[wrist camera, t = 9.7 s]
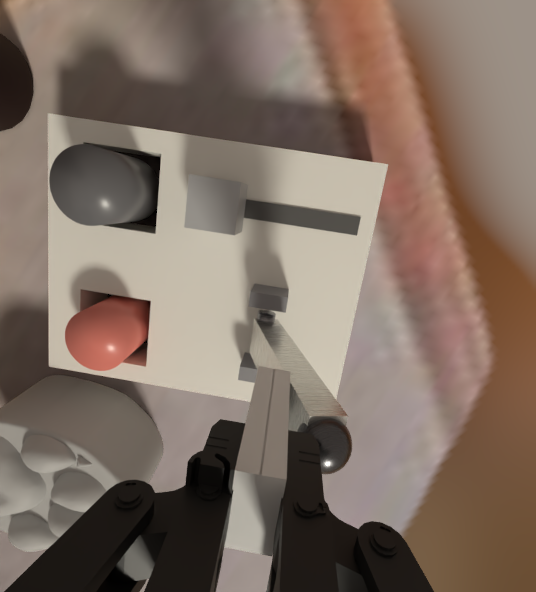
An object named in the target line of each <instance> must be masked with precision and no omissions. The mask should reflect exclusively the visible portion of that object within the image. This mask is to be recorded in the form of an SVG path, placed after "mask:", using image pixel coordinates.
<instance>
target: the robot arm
mask: <svg viewBox="0 0 536 592" xmlns="http://www.w3.org/2000/svg"><path fill="white" fill-rule="evenodd" d="M289 395H290V371H285V370H279V369H273V368H267V367H261V366H259V367H258V371H257V375H256V380H255V384H254V389H253V393H252V397H251V402H250V406H249V410H248V415H247V419H246V423H239V422H233V421H227V420H222V419H220V420H219V421H218V422H217V423H216V424H215V425H213V426H212V428H211V431H210V434H209V436H208V439H207V442H206V445H205V447H204V450H203V451H200V452H198V453H196V454H195V455H193V456H192V457H191V458H190V460H189V461H188V466H187V476H186V485H185V486H184V487H182V488H180V489H177V490H175V491H170V492H162V493H155V492H154V490H153V488H152V486H151V485H149V484H148V483H146V482H145V481H140V480H126V481H123V482H120V483H117V484H115V485H114V486H113V487H111V488H110V489H109V490H107V491H106V492H105V493H104V494H103V495H102V496H101V497H100V498H99V499H98V500H97V501H96V502H95V503H94V504H93V505H92V506H91V507H90V508H89V509H88V510H87V511H86V512H85V513H84V514H83V515H82V516H81V517H80V518H79V519H78V520H77V521H76V522H75V523H74V524H73V525H72V526H71V527H70V528H69V529H68V530H67V531H66V532H65V533H64V534H63V535H62V536H61V537H60V538H58V539H57V540H56V541H55V542H54V543H53V544H52V545H51V546H50V547H49V548H48V549H47V550H46V551H45V552H44V553H43V554H42V555H41V556H40V557H39V558H38V559H37V560H36V561H35V562H34V563H33V564H32V565H31V566H30V567H29V568H28V569H27V570H26V571H25V572H24V573H23V574H22V575H21V576H20V577H19V578H18V579H17V580H16V581H15V582H14V583H13V584H12V585H11V586H10V587H8V588H7V589H6V590H5V591H4V592H139V591H140V590H141V588H142V587H143V585H144V584H145V582H146V579H149V581H148V584H147V586H146V589H145V591H144V592H216V588H217V583H218V578H219V573H220V569H221V563H222V556H223V550H224V547H225V548H230V549H236V550H241V551H246V552H252V553H257V554H262V555H268V556H272V553H273V559H272V565H271V570H270V576H269V581H268V586H267V591H266V592H434V591H433V589H432V587H431V586H430V584H429V582H428V580H427V578H426V577H425V575H424V573H423V571H422V570H421V568H420V566H419V564H418V563H417V561H416V559H415V557H414V556H413V554H412V552H411V550H410V548H409V547H408V545H407V543H406V542H405V540H404V539H403V538H402V536H401V535H400V534H399V533H398V532H397V531H395V530H394V529H393V528H392V527H390V526H388V525H385V524H383V523H380V522H373V521H372V522H367V523H364V524H363V525H362V526H361V527H360V528H359V529H357V528H355V527H353V526H351V525H348V524H346V523H344V522H343V521H341V520H339V519H338V518H337V517H336V516H334V515H333V514H332V513H331V511H330V510H329V507H328V504H327V503H326V502H325V500H324V494H323V483H322V472H321V465H320V464H321V462H320V451H319V444H318V442H317V441H316V439H315V437H314V436H313V434H308V433H302V432H296V431H291V430H288V424H289Z"/></svg>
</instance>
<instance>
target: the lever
mask: <svg viewBox="0 0 536 592" xmlns="http://www.w3.org/2000/svg"><path fill="white" fill-rule="evenodd" d="M275 316H276V314H275V313H274V312H272V311H268V310H259V311H258V314H257V318H254V323H253V330H252V337H251V343H250V350H249V352H250V354H251V357H252V359H253V361H254V364H255V366H256V368H257V371H258V367H259V366H261V367H267V368H273V369H279V370H285V371H290V395H289V424H288V430H291V431H296V432H302V433H308V434H313V436H314V437H315V439H316V441H317V442H318V444H319V451H320V462H321V464H320V465H321V472H322V474H332V473H335V472H337V471H339V470H340V469H342V468H343V467H344V466H345V465H346V463H347V462H348V460H349V458H350V456H351V452H352V439H351V435H350V433H349V431H348V429H347V427H346V423H347V419H348V415H347V414H346V413H345V411H344V410H343V408H342V407H341V406H340V404H339V403H338V402H337V400H336V399H335V397H334V396H333V395H332V393H331V392H330V391H329V389H328V388H327V387H326V385H325V384H324V382H323V381H322V380H321V378H320V377H319V376H318V374H317V373H316V371H315V370H314V369H313V367H312V366H311V365H310V363H309V362H308V361H307V359H306V358H305V356H304V355H303V354H302V352H301V351H300V350H299V348H298V347H297V345H296V344H295V343H294V341H293V340H292V339H291V337H290V336H289V335H288V333H287V332H286V330H285V329H284V328H283V326H282V325H281V324H280V322H279V321H278V319H275Z"/></svg>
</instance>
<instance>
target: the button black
mask: <svg viewBox="0 0 536 592" xmlns="http://www.w3.org/2000/svg"><path fill="white" fill-rule="evenodd" d="M49 183H50V190H51V194H52V197H53V199H54V201H55V203H56V205H57V206H58V208H59V209H60V210H61V211H62V212H63V214H65V215H66V216H67V217H68V218H70V219H71V220H73V221H74V222H76V223H79V224H82V225H86V226H98V225H107V224H116V223H126V222H135V221H141V220H143V219H145V218H147V217H149V216H150V215H151V214H152V213H153V212H154V211H155V210H156V208H157V206H158V192H159V180H158V178H157V176H156V174H155V172H154V171H153V169H152V168H151V167H150V166H149V165H148V164H146V163H145V162H144V161H142V160H140V159H137V158H134V157H131V156H127V155H124V154H120V153H117V152H113V151H110V150H106V149H103V148H99V147H96V146H92V145H88V144H78V145H73V146H71V147H68V148H66V149H65V150H63V151H62V152H61V153H60V154H59V155H58V156H57V157H56V159H55V160H54V162H53V164H52V167H51V170H50V177H49Z"/></svg>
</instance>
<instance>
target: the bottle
mask: <svg viewBox="0 0 536 592" xmlns="http://www.w3.org/2000/svg"><path fill="white" fill-rule="evenodd" d="M32 97H33V84H32V77H31V74H30V70H29V67H28V64H27V62H26V61H25V59H24V57H23V56H22V54H21V53H20V51H19V50H18V48H17V47H16V46H14V45H13V44H12V43H11V42H10V41H9V40H8V39H7V38H6V37H5V36H3V35H1V34H0V131H2V130H6V129H10V128H13V127H14V126H15V125H17V124H18V123H19V122H21V121H22V120H23V118H24V117H25V115H26V114H27V112H28V111H29V109H30V105H31V101H32Z"/></svg>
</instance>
